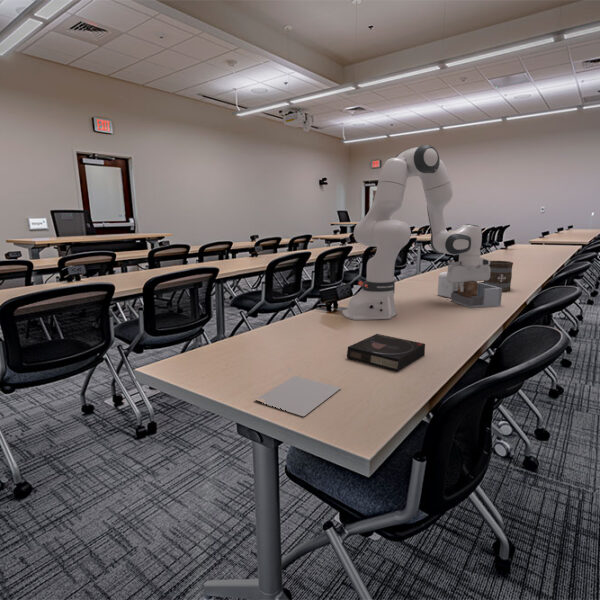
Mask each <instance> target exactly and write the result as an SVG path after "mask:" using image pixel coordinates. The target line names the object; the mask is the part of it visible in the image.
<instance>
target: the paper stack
mask: <svg viewBox="0 0 600 600" xmlns="http://www.w3.org/2000/svg"><path fill="white" fill-rule="evenodd" d="M288 371H293V368H289V369H287V370H286V372H288ZM341 389H342V387H339V386H336V385H331V384H328V383H324V382H320V381H317V380H314V379H313V380H312V379H308V378H305V377H301V376H297V375H294V376H292V377H291V378H289V379H287V380H285V381H284V382H282V383H280V384H278V385H277V386H275V387H274V388H272V389H270V390H269V391H267V392H265V393H264V394H262V395H260V396H259V397H257V398H259V399H260V400H261V398H262V399H264V400H265V401H264V402H265V403H264V404H263V405H266V404H267V406H269V407H272V406H273V407H272V408H275V407H276V409H279V410H281V409H282V410H283V411H285V410H286V411H285V412H288V413H291V414H294V415H297V416H300V417H305V416H306V415H308V414H310V412H312V411H313V410H314V409H316V408H317V407H318V406H320V405H321V404H322V403H323V402H325V401H326V400H327V399H328V398H331V396H333V395H334V394H335V393H336V392H338V391H339V390H341ZM280 408H281V409H280Z"/></svg>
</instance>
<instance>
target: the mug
mask: <svg viewBox="0 0 600 600" xmlns="http://www.w3.org/2000/svg"><path fill="white" fill-rule="evenodd" d="M489 266H490V278H489V280H488V281H478V283H483V284H487V285H491V286H495V287H499V288H502V294H503V293H504V294H505V293H509V292H511V291H512V290H511V285H512V279H513V276H512V275H513V274H512V271H513V266H514V262H512V261H508V260H507V261H506V260H490V265H489Z"/></svg>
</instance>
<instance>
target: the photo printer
mask: <svg viewBox="0 0 600 600" xmlns="http://www.w3.org/2000/svg"><path fill="white" fill-rule="evenodd" d="M447 272H448V271H443V272H440V273H439V274H438V282H437V296H441V297H445V298H450V299H451V293H453V291H457V290H458V283H450V282H447V280H446V277H447Z"/></svg>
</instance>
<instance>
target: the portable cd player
mask: <svg viewBox="0 0 600 600" xmlns="http://www.w3.org/2000/svg"><path fill="white" fill-rule="evenodd" d="M425 352H426V344H425V343H423V342H418V341H415V340H414V341H412V340H409V339H403V338H400V337H394V336H389V335H386V334H385V335H384V334H381V333H380V334H379V333H376V334H373V335H371V336H369V337H367V338H365V339H362V340H359V341H358V342H355V343H354V344H351V345H349V346H347V351H346V358H347V359H348V360H351V361H355V362H359V363H363V364H365V365H371V366H375V367H378V368H382V369H385V370H389V371H393V372H396V373H398V372H400V371H402V370H403V369H404V368H406V367H408V366H410V365H411V364H412V363H414V362H415V361H417V360H420V358H423V357H424V356H425Z"/></svg>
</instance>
